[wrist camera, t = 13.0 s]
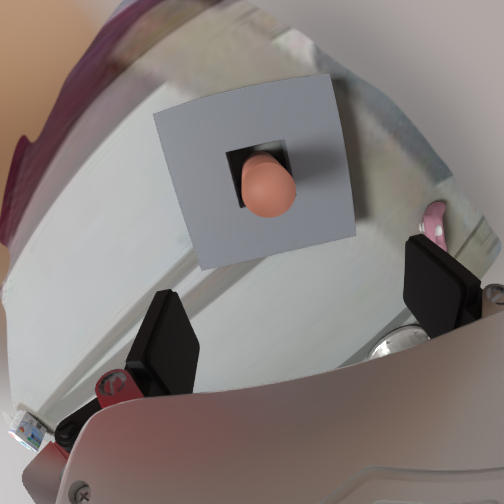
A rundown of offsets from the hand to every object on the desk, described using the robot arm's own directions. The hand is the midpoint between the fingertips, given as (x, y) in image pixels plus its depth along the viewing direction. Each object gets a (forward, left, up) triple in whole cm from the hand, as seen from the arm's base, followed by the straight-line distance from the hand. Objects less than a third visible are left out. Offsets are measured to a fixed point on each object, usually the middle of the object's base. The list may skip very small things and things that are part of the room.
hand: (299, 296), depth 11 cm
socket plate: (0, -1, -24) cm, 24 cm away
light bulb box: (+90, +52, -24) cm, 106 cm away
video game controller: (-22, +12, -24) cm, 35 cm away
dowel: (0, -1, -24) cm, 24 cm away
